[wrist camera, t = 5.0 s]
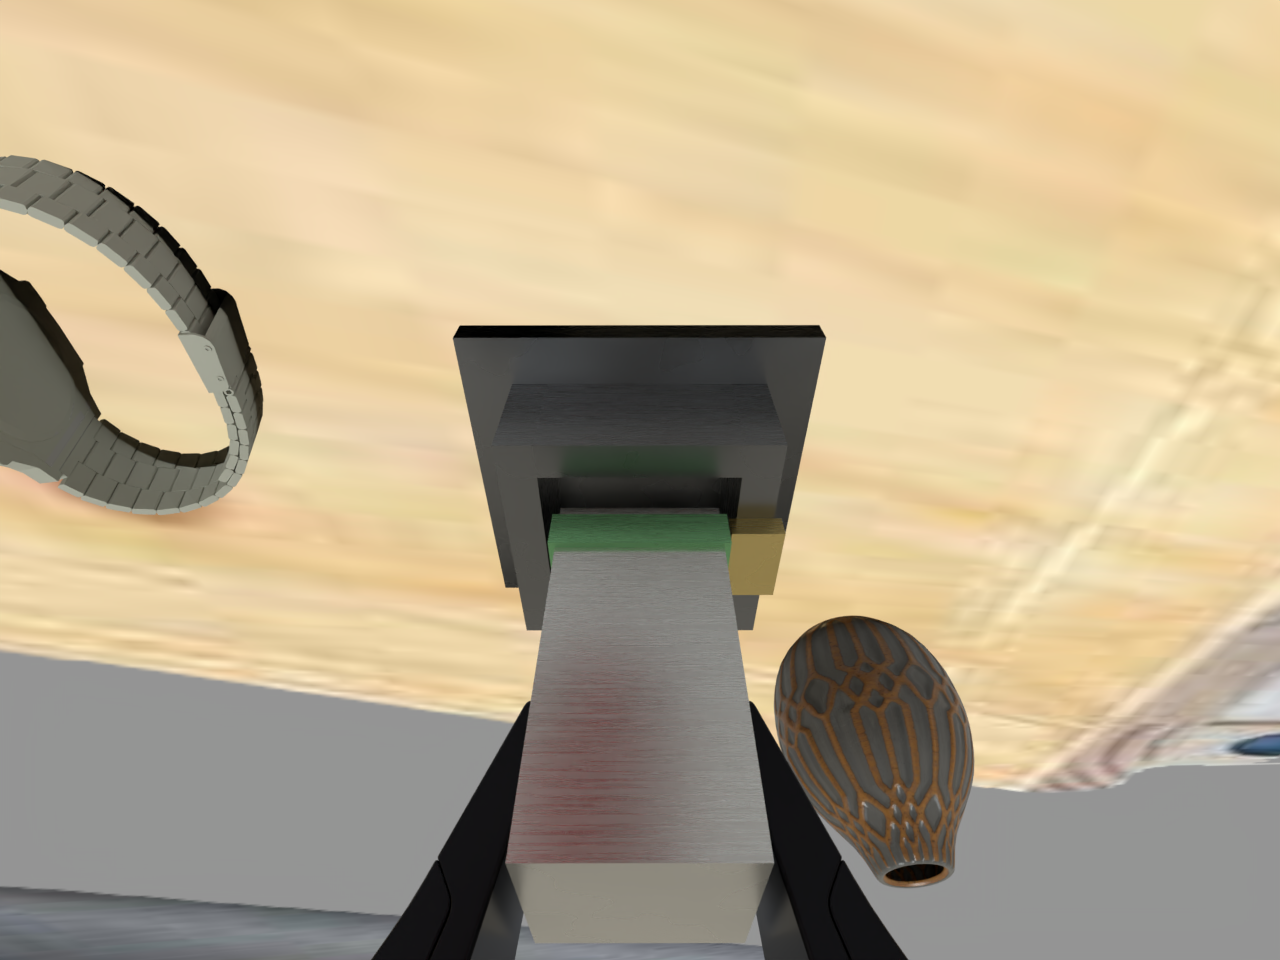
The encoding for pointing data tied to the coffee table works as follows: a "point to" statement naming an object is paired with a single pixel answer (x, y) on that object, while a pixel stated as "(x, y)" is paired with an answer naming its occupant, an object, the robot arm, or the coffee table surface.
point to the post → (639, 740)
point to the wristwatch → (53, 371)
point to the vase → (878, 744)
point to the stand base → (639, 434)
